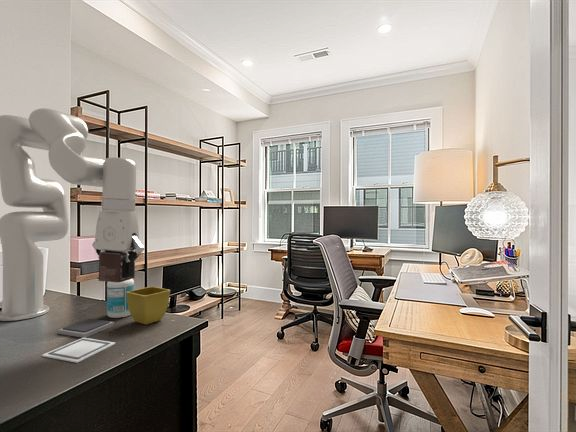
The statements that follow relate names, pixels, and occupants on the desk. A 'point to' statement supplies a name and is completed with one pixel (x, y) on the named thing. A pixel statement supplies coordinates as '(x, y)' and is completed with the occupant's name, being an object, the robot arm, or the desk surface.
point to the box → (112, 267)
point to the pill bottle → (118, 298)
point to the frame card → (79, 350)
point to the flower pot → (148, 304)
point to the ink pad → (86, 328)
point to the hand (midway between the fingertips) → (117, 275)
